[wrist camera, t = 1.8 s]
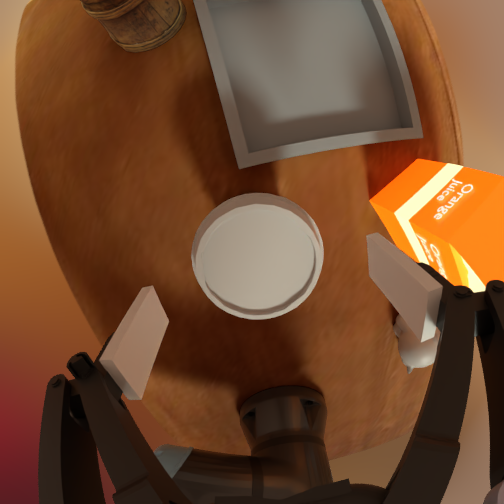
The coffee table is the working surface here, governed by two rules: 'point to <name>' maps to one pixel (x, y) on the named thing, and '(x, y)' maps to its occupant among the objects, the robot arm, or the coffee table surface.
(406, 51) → the coffee table surface
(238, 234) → the disposable coffee cup
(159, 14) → the wooden mug
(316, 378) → the coffee table surface
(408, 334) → the round bodied animal figurine
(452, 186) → the orange juice
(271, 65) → the tray
